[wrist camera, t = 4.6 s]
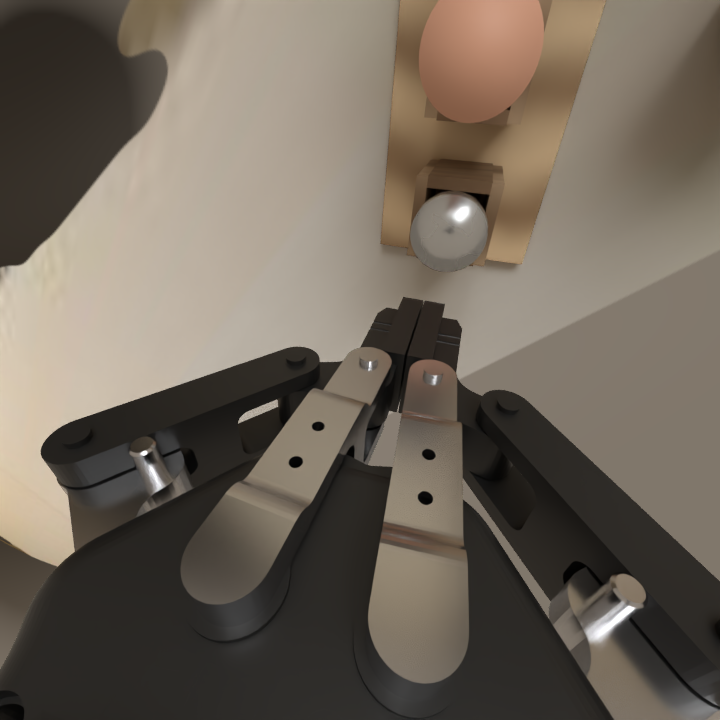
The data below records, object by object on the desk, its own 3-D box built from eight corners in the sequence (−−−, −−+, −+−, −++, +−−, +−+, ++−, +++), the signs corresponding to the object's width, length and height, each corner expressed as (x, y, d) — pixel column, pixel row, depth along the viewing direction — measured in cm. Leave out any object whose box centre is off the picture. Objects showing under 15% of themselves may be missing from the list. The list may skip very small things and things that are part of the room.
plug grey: (435, 165, 28) (415, 190, 21) (495, 171, 27) (496, 200, 20) (426, 224, 31) (405, 265, 23) (481, 232, 30) (477, 277, 23)
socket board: (424, -248, 19) (390, -413, 13) (691, -280, 17) (811, -501, 10) (383, 240, 34) (358, 274, 28) (520, 260, 32) (527, 301, 25)
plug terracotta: (451, 11, 20) (428, -32, 13) (537, 13, 19) (563, -33, 12) (437, 109, 23) (411, 118, 16) (512, 114, 22) (522, 127, 15)
